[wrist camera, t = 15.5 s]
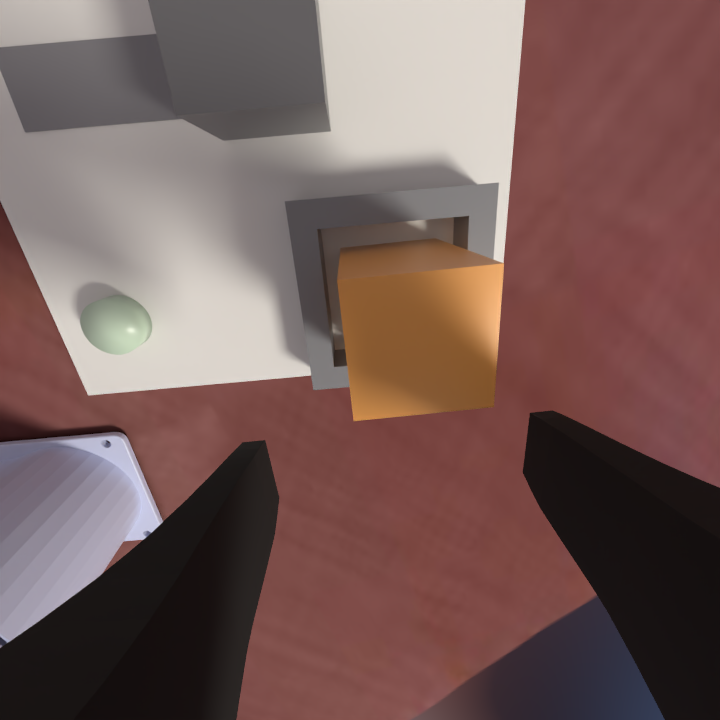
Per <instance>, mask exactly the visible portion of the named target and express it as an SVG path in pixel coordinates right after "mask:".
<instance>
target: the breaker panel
mask: <svg viewBox="0 0 720 720" xmlns="http://www.w3.org/2000/svg"><path fill="white" fill-rule="evenodd" d="M318 3H319V13H320V24H321V34H322V44H323V55H324V65H325V75H326V86H327V96H328V106H329V117H330V127H331V131H330V132H318V133H307V134H295V135H284V136H272V137H261V138H250V139H238V140H227V141H223V140H221V139H219V138H218V137H216V136H214V135H212V134H210V133H208V132H206V131H204V130H202V129H201V128H199V127H197V126H195V125H193V124H191V123H189V122H187V121H185V120H184V119H182V118H180V117H178V116H176V113H175V108H174V104H173V100H172V96H171V92H170V88H169V84H168V80H167V76H166V72H165V68H164V64H163V60H162V55H161V51H160V47H159V43H158V39H157V35H156V31H155V27H154V23H153V19H152V15H151V11H150V6H149V2H148V0H0V201H1V204H2V206H3V208H4V210H5V212H6V215H7V217H8V219H9V221H10V223H11V226H12V228H13V230H14V232H15V235H16V237H17V239H18V241H19V243H20V246H21V248H22V250H23V252H24V254H25V257H26V259H27V261H28V263H29V265H30V268H31V270H32V272H33V274H34V276H35V279H36V281H37V283H38V285H39V288H40V290H41V292H42V294H43V296H44V299H45V301H46V303H47V305H48V307H49V310H50V312H51V314H52V316H53V318H54V321H55V323H56V325H57V327H58V330H59V332H60V334H61V336H62V338H63V341H64V343H65V345H66V347H67V349H68V352H69V354H70V356H71V358H72V360H73V363H74V365H75V367H76V369H77V371H78V374H79V376H80V378H81V380H82V383H83V385H84V387H85V389H86V391H87V394H88V395H97V394H108V393H120V392H131V391H142V390H153V389H164V388H176V387H187V386H198V385H209V384H220V383H232V382H243V381H254V380H265V379H276V378H288V377H299V376H310V375H311V377H312V383H313V390H319V389H330V388H342V387H350V385H349V377H348V368H347V360H346V352H345V343H344V335H343V326H342V318H341V310H340V301H339V293H338V285H337V276H338V267H339V257H340V248H343V247H353V246H363V245H373V244H383V243H392V242H402V241H412V240H422V239H432V238H436V239H439V240H442V241H444V242H447V243H450V244H453V245H455V246H458V247H461V248H463V249H466V250H469V251H472V252H474V253H477V254H480V255H483V256H485V257H488V258H491V259H494V260H496V261H499V262H502V263H503V261H504V249H505V237H506V225H507V213H508V201H509V189H510V177H511V165H512V153H513V141H514V129H515V117H516V105H517V93H518V81H519V69H520V57H521V45H522V33H523V21H524V9H525V0H318Z"/></svg>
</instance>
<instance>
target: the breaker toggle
mask: <svg viewBox="0 0 720 720" xmlns="http://www.w3.org/2000/svg"><path fill="white" fill-rule="evenodd" d="M148 2H149V6H150V11H151V15H152V19H153V23H154V27H155V31H156V35H157V39H158V43H159V47H160V51H161V55H162V60H163V64H164V68H165V72H166V76H167V80H168V84H169V88H170V92H171V96H172V100H173V104H174V108H175V113H176V116H178V117H180V118H182V119H184V120H185V121H187V122H189V123H191V124H193V125H195V126H197V127H199V128H201V129H202V130H204V131H206V132H208V133H210V134H212V135H214V136H216V137H218V138H219V139H221V140H223V141H227V140H238V139H250V138H261V137H272V136H284V135H295V134H307V133H318V132H330V131H331V127H330V117H329V106H328V96H327V86H326V75H325V65H324V55H323V44H322V34H321V24H320V13H319V3H318V0H148Z"/></svg>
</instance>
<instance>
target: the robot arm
mask: <svg viewBox="0 0 720 720" xmlns="http://www.w3.org/2000/svg"><path fill="white" fill-rule="evenodd" d="M106 440H107V441H109V442H110V443H108V442H107V441H106ZM523 474H524V476H525V478H526V480H527V482H528V484H529V487H530V489H531V491H532V493H533V495H534V497H535V499H536V501H537V503H538V505H539V506H540V508H541V510H542V511H543V513H544V514H545V516H546V518H547V519H548V521H549V522H550V524H551V525H552V527H553V528H554V530H555V531H556V533H557V535H558V536H559V538H560V539H561V541H562V542H563V544H564V545H565V547H566V548H567V550H568V551H569V553H570V554H571V556H572V557H573V559H574V560H575V562H576V563H577V565H578V566H579V568H580V569H581V571H582V572H583V574H584V575H585V577H586V578H587V580H588V581H589V583H590V584H591V586H592V587H593V589H594V590H595V592H596V594H597V595H598V597H599V599H600V600H601V602H602V603H603V605H604V607H605V608H606V610H607V612H608V613H609V615H610V617H611V619H612V621H613V622H614V624H615V626H616V628H617V630H618V631H619V633H620V635H621V637H622V639H623V641H624V642H625V644H626V646H627V648H628V650H629V652H630V654H631V655H632V657H633V659H634V661H635V663H636V664H637V666H638V669H639V670H640V672H641V674H642V676H643V678H644V680H645V682H646V684H647V686H648V688H649V690H650V692H651V694H652V695H653V697H654V699H655V701H656V703H657V705H658V707H659V709H660V711H661V713H662V715H663V717H664V719H665V720H720V488H719V487H716V486H714V485H711V484H709V483H707V482H704V481H702V480H700V479H697V478H695V477H693V476H690V475H688V474H686V473H684V472H681V471H679V470H677V469H675V468H672V467H670V466H668V465H666V464H663V463H661V462H659V461H657V460H655V459H653V458H651V457H648V456H646V455H644V454H642V453H640V452H638V451H636V450H634V449H632V448H630V447H628V446H626V445H623V444H621V443H619V442H617V441H615V440H613V439H611V438H609V437H607V436H605V435H603V434H601V433H599V432H597V431H595V430H593V429H591V428H589V427H587V426H585V425H583V424H581V423H579V422H577V421H575V420H573V419H571V418H568V417H566V416H564V415H562V414H560V413H557V412H555V411H544V412H535V413H530V418H529V426H528V434H527V442H526V451H525V459H524V467H523ZM278 504H279V495H278V491H277V487H276V483H275V479H274V475H273V471H272V466H271V462H270V458H269V454H268V450H267V446H266V442H265V440H263V441H253V442H244V443H242V444H241V445H240V446H239V447H238V448H237V449H236V450H235V451H234V452H233V453H232V454H231V455H230V456H229V457H228V458H227V459H226V460H225V461H224V462H223V463H222V464H221V465H220V466H219V467H218V468H217V469H216V470H215V472H214V473H213V474H212V475H211V476H210V477H209V478H208V479H207V480H206V481H205V482H204V483H203V484H202V485H201V486H200V487H199V488H198V489H197V490H196V491H195V492H194V493H193V494H192V495H191V496H190V497H189V498H188V499H187V500H186V501H185V502H184V503H183V504H182V505H181V506H179V507H178V508H177V509H176V510H175V511H174V512H173V513H172V514H171V515H170V516H169V517H168V518H167V519H166V520H165V521H164V522H163V520H162V518H161V516H160V513H159V511H158V509H157V506H156V504H155V502H154V499H153V497H152V494H151V492H150V490H149V487H148V485H147V483H146V480H145V478H144V476H143V473H142V471H141V469H140V466H139V464H138V461H137V459H136V457H135V454H134V452H133V450H132V447H131V445H130V443H129V440H128V438H127V437H126V435H124V434H123V433H120V432H109V433H98V434H87V435H75V436H64V437H53V438H42V439H31V440H20V441H9V442H0V720H236V718H237V711H238V704H239V698H240V692H241V685H242V679H243V673H244V667H245V660H246V654H247V649H248V644H249V639H250V634H251V629H252V625H253V621H254V617H255V613H256V609H257V605H258V601H259V597H260V593H261V589H262V585H263V581H264V577H265V573H266V569H267V565H268V560H269V556H270V552H271V548H272V544H273V540H274V535H275V528H276V521H277V513H278ZM143 539H144V540H143ZM131 540H143V541H142V542H140V543H139V544H138V545H137V546H136V547H135V548H133V549H132V550H131V551H130V552H129V553H127V554H126V555H125V556H124V557H122V558H121V559H120V560H119V561H118V562H116V563H115V564H114V565H113V566H111V567H110V568H109V569H108V570H107V571H105V572H104V570H105V568H106V567H107V565H108V564H109V562H110V561H111V559H112V558H113V556H114V555H115V553H116V552H117V550H118V549H119V547H120V546H121V544H122V543H123V541H131ZM103 572H104V573H103ZM102 573H103V574H102Z"/></svg>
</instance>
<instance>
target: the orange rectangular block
mask: <svg viewBox="0 0 720 720" xmlns="http://www.w3.org/2000/svg"><path fill="white" fill-rule="evenodd" d="M503 271H504V263H502V262H499V261H496V260H494V259H491V258H488V257H485V256H483V255H480V254H477V253H474V252H472V251H469V250H466V249H463V248H461V247H458V246H455V245H453V244H450V243H447V242H444V241H442V240H439V239H436V238H432V239H422V240H412V241H402V242H392V243H383V244H373V245H363V246H353V247H343V248H340V257H339V267H338V276H337V285H338V293H339V301H340V310H341V318H342V326H343V335H344V343H345V352H346V360H347V368H348V377H349V385H350V393H351V402H352V410H353V419H354V421H359V420H369V419H379V418H389V417H399V416H409V415H419V414H429V413H439V412H448V411H458V410H468V409H478V408H488V407H494V396H495V382H496V368H497V354H498V340H499V326H500V312H501V298H502V285H503Z"/></svg>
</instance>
